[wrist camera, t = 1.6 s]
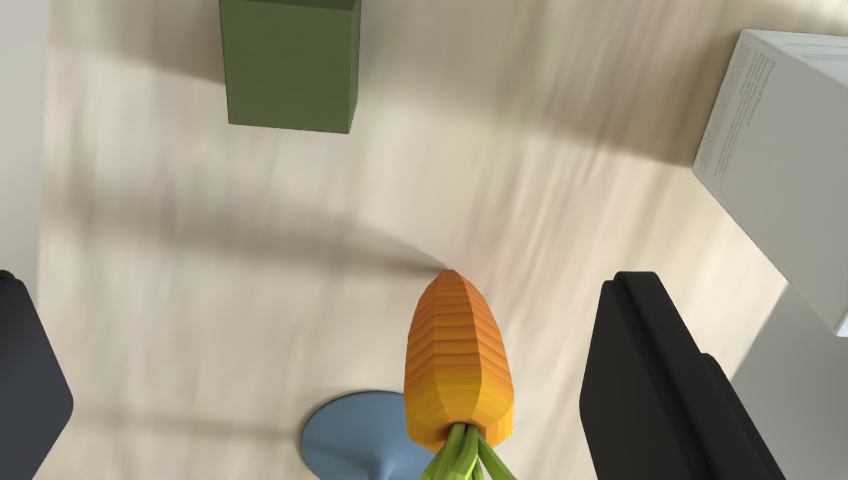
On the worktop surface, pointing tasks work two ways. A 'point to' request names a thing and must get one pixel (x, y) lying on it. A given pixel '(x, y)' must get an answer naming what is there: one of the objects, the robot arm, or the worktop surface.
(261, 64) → the olive green block
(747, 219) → the white packaging box
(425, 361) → the carrot
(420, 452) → the cocktail glass
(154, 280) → the worktop surface
